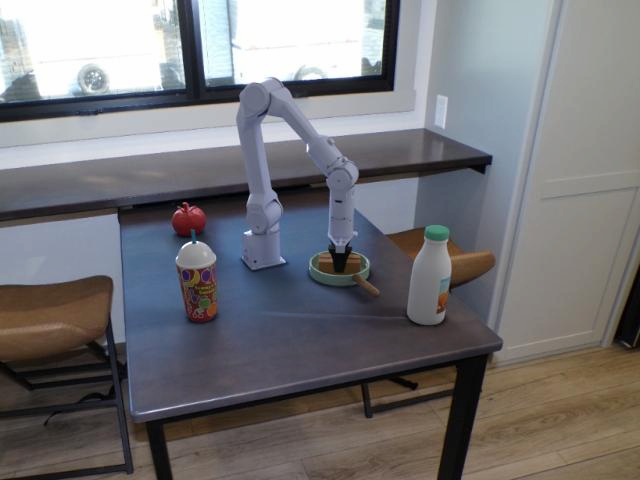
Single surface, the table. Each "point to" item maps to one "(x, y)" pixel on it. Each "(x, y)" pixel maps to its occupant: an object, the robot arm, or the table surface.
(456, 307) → the table surface
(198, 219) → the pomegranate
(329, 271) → the taped cardboard box
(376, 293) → the pan handle
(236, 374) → the table surface
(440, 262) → the milk bottle
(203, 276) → the smoothie
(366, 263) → the pan
